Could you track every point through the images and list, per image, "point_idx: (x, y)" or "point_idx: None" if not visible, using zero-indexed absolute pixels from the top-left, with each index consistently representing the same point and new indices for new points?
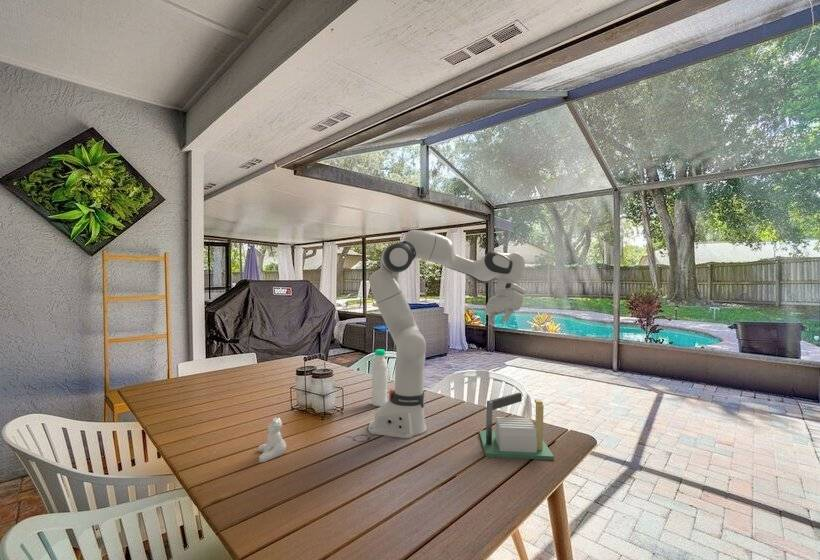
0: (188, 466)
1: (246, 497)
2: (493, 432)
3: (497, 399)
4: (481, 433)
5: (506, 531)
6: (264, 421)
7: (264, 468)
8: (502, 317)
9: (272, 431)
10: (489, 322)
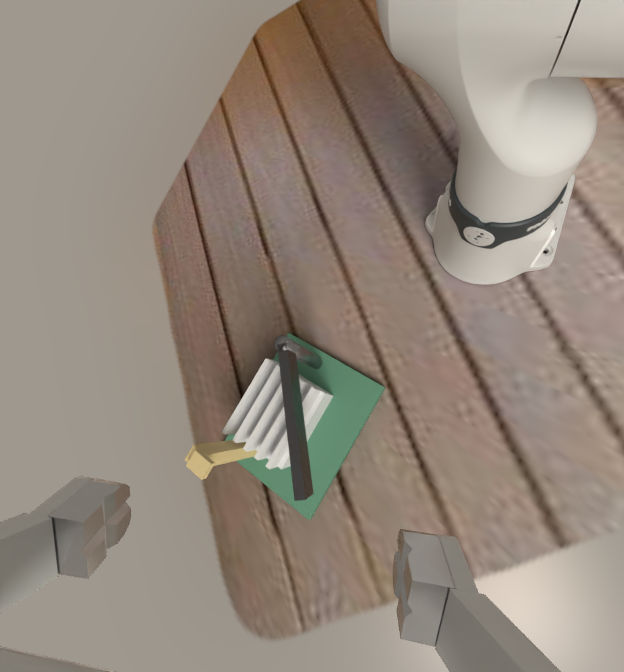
0: None
1: (345, 5)
2: (358, 412)
3: (284, 376)
4: (366, 380)
5: (158, 257)
6: None
7: None
8: (94, 512)
9: None
10: (424, 536)
